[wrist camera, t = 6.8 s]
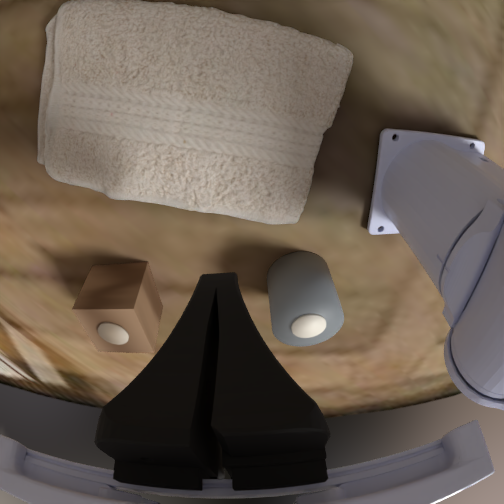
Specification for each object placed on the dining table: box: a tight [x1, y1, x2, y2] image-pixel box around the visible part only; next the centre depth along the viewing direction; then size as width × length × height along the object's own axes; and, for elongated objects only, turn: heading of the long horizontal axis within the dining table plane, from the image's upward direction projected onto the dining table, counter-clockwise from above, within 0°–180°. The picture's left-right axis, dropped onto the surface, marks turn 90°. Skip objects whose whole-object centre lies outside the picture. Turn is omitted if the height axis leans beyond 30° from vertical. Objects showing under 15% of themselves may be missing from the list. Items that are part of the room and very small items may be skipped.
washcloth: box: [37, 0, 353, 224], centre depth 15 cm, size 12×18×3 cm, turn 76°
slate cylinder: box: [267, 251, 344, 346], centre depth 23 cm, size 5×5×5 cm
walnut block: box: [72, 262, 163, 353], centre depth 23 cm, size 5×5×5 cm
